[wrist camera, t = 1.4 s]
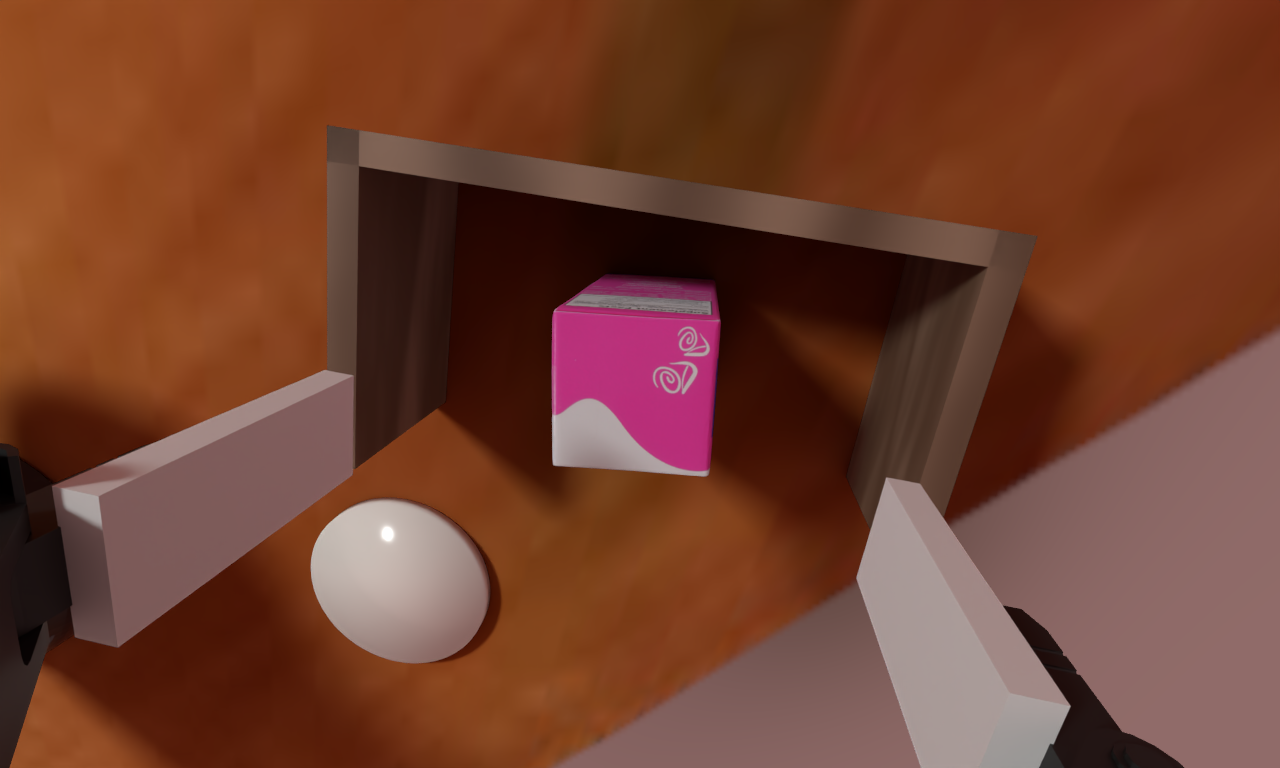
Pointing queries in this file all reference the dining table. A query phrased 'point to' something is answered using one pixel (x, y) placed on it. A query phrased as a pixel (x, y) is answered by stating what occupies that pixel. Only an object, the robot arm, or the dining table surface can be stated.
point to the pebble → (400, 580)
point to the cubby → (428, 195)
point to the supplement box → (636, 375)
